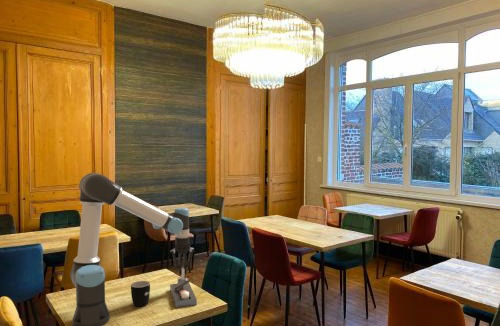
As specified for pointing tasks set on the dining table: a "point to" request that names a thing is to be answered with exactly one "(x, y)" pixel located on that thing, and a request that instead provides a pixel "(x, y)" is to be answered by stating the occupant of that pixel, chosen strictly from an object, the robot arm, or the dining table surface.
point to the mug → (140, 293)
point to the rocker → (181, 283)
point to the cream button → (184, 295)
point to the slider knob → (179, 279)
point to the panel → (177, 296)
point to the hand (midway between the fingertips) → (182, 280)
